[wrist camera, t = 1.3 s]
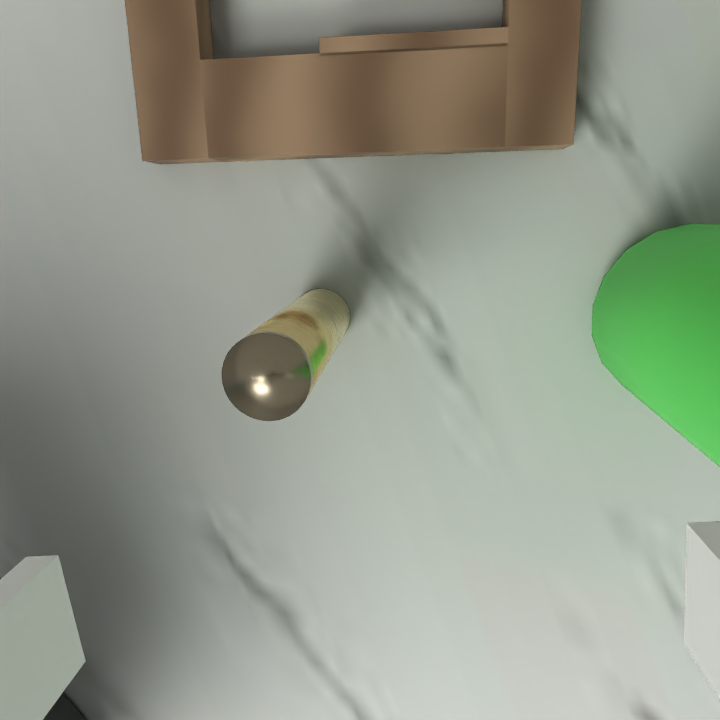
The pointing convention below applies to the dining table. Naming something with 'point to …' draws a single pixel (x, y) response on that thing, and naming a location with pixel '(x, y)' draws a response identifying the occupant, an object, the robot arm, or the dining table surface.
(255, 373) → the peg
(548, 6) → the keyhole board
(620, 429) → the dining table surface
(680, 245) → the bottle
